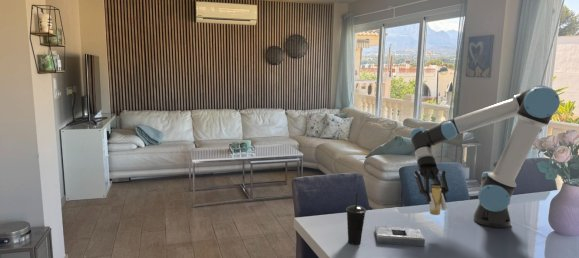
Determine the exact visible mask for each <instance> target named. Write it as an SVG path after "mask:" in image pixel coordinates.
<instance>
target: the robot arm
mask: <svg viewBox="0 0 579 258" xmlns="http://www.w3.org/2000/svg"><path fill="white" fill-rule="evenodd" d="M560 100H561V99H560V96H559V94H558V92H557V91H556V90H554V88H551V87H549V86H546V85H536V86H532V87H530V88H528V89H527V90H525V91H522V92H520V93H517V94H515V95H513V97H512V98H510V99H507V100H503V101H501V102H498V103H495V104H492V105H489V106H486V107H484V108H480V109H477V110H474V111H471V112H468V113H466V114H463V115H459V116H457V117H456V116H455V117H454V118H450V119H448V120H443V121H441V122H440V123H439V124H438V125H435V126H433V127H432V128H428V129H426V128H424V127H416V128H414V129H412V131H410V138H411V139H410V141H411V144H412V145H411V146H412V149H413V151H414V154H415V155H414V156H415V160H416V161H417V168H418V170H416V171H414V173H413V177H414V179H415V180H416V184H417V188H418V192H419V194H420V195H424V197H425V199H426V202H427V203H429V208H430V207H431V210H434V209H435V204H434V201H433V197H432V193H431V192H430V180H432V182H433V184H440V185H442V188H441V204H440V207H441V210H442V211H445V210H446V209H447V203H446V202H447V194H448V192H449V186H448V182H447V181H448V180H447V178H446V171H445V170H440V169H439V168H438V166H437V163H436V162H437V161H436V159H435V154H434V152H433V147H434V146H436V145H439V144H441V143H444V142H446V141H450V140H453V139H454V138H457V137H458V135H460V134H463V133H466V132H469V131H472V130H475V129H479V128H482V127H485V126H488V125H492V124H495V123H497V122H501V121H505V120H507V119H510V118H513V117H518V119H517V121H516V123H515V126H514V128H513V130H512V132H511V134H510V137H508V140H507V143H506V145H505V147H504V149H503V151H502V153H501V155H500V157H499V159H498V161H497V162H496V165H495V167H494V169H493V170H492V171H483V172H482V174H481V178H480V179H481V182H480V188H479V191H478V194H477V198H478V201H479V203H478V205H477V208H476V209H475V212H474V214H473V221H474V222H475V223H477V224H479V225H482V226H484V227H490V228H495V229H496V228H497V229H505V228H506V229H507V228H509V227H510V226H511V221H512V220H511V217H510V211H509V209H508V208H509V205H510V203H511V198H512V195H513V194H514V191H515V190H516V189H517V183H516V178H517V177H518V175H519V173H520V171H521V169H522V166H523V165H524V163H525V160H526V159H527V157H528V154H529V153H530V151H531V148H533V145H534V143H535V141H536V140H537V137H538V135H539V133H540V131H541V129H542V128H543V127H545V126H548V125H549V123H550V121H551V120H552V117H553V115H554V114H555V113H556V112H557V111H558V110H559V107H560ZM438 175H439V176H438ZM422 177H423V180H422ZM439 177H440V179H439Z"/></svg>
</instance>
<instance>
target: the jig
mask: <svg viewBox="0 0 579 258" xmlns="http://www.w3.org/2000/svg"><path fill="white" fill-rule="evenodd" d="M374 233H375V238H376V243H377V244H385V245H386V244H388V245H397V244H398V245H399V246H411V247H426V246H425V243H426V238H425V237H424V235H423V234H422V233H423V232H421V230H420V228H418V227H417V228H414V227H402V226H401V227H400V226H387V225H375V227H374ZM398 245H397V246H398Z"/></svg>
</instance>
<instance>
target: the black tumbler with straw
mask: <svg viewBox="0 0 579 258" xmlns="http://www.w3.org/2000/svg"><path fill="white" fill-rule="evenodd" d="M358 196H359V193H357V192H356V193H355V204H354V205H350V206H347V207H346V209H345V211H346V219H347V220H346V221H347V222H346V223H347V242H348V244H350V245H354V246H358V245H360V244H361V242H362V236H363V229H364V223H365V214H366V213H367V208H365V207H363V206H361V205H358V199H359V198H358Z"/></svg>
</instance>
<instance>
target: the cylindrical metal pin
mask: <svg viewBox="0 0 579 258" xmlns="http://www.w3.org/2000/svg"><path fill="white" fill-rule="evenodd" d="M441 188H442V184H441V185H440V184H435V183H431V184H430V193H432V197H433V201H434V204H435V209H434V210H431V207H430V206H429V214H431V215H434V216H440V215H441Z"/></svg>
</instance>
